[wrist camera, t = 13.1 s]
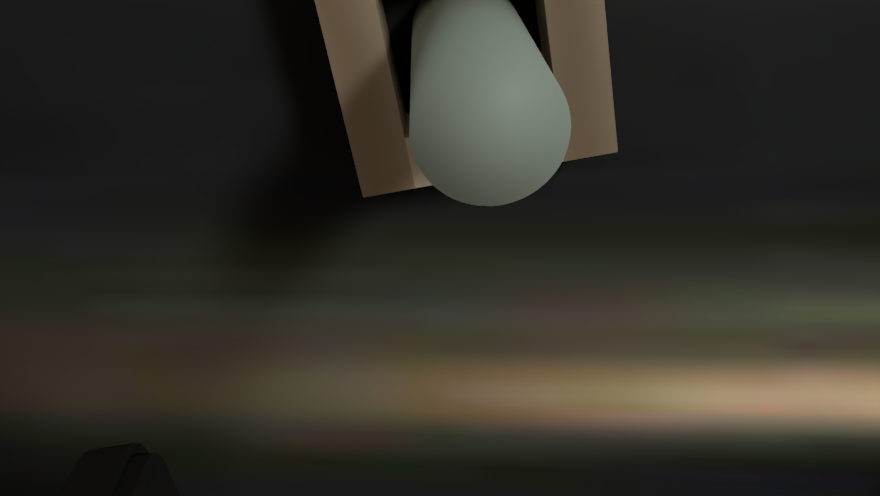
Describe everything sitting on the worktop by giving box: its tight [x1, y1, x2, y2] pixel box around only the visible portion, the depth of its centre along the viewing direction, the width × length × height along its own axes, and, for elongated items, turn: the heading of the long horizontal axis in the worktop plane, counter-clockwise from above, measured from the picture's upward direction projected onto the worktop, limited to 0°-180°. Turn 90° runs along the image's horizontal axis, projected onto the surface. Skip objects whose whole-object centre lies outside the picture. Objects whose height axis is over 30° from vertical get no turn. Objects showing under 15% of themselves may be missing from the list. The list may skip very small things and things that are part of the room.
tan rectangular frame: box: [314, 0, 618, 198], centre depth 29 cm, size 10×10×3 cm
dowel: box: [409, 0, 571, 206], centre depth 25 cm, size 4×4×12 cm
